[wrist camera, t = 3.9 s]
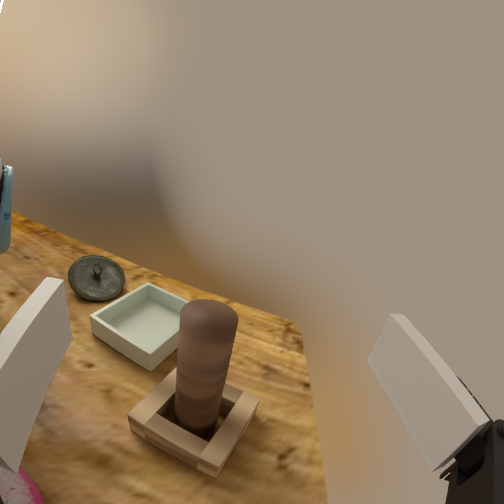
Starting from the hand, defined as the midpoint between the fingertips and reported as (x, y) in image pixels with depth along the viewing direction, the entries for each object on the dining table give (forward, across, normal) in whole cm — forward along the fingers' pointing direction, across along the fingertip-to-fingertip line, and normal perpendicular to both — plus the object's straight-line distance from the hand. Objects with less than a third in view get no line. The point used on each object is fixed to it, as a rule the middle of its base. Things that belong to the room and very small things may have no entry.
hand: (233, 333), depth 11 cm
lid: (+35, -18, -21) cm, 45 cm away
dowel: (+10, 0, -21) cm, 23 cm away
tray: (+26, -7, -21) cm, 34 cm away
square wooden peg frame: (+10, 0, -21) cm, 23 cm away
